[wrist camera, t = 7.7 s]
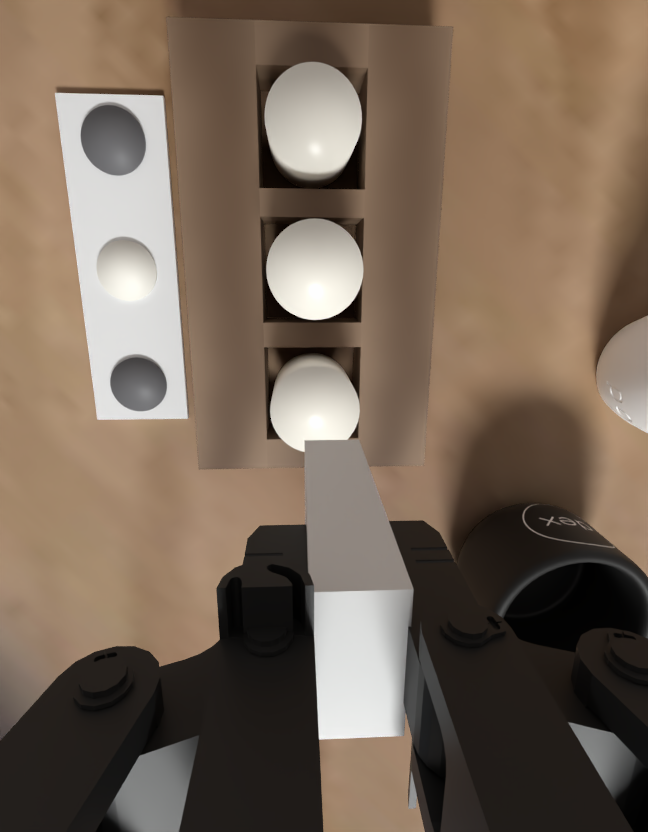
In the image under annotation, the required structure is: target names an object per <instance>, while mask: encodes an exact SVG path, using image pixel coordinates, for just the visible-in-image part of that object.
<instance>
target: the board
mask: <svg viewBox="0 0 648 832" xmlns="http://www.w3.org/2000/svg"><path fill="white" fill-rule="evenodd" d="M166 21H167V35H168V48H169V62H170V76H171V90H172V104H173V118H174V132H175V146H176V159H177V173H178V187H179V201H180V215H181V229H182V243H183V256H184V270H185V284H186V298H187V312H188V326H189V340H190V353H191V367H192V381H193V395H194V409H195V423H196V437H197V451H198V464H199V469H249V468H305V452H302V451H299V450H297V449H294V448H292V447H291V446H289V445H288V444H286V443H285V442H284V441H283V440H282V439H281V438H280V437H279V435H278V434H277V433H276V431H275V429H274V427H273V424H272V423H270V412H269V376H268V347H354V357H353V387H354V389H355V391H356V393H357V396H358V399H359V405H360V413H359V419H358V423H357V426H356V428H355V430H354V432H353V433H352V434H351V436H350V437H349V438H348V439H347V440H359V441H360V444H361V446H362V449H363V452H364V455H365V457H366V460H367V463H368V466H424V459H425V444H426V429H427V414H428V399H429V384H430V369H431V354H432V339H433V324H434V309H435V294H436V279H437V264H438V249H439V234H440V219H441V204H442V189H443V174H444V159H445V144H446V129H447V114H448V98H449V83H450V68H451V53H452V38H453V27H452V26H422V25H393V24H363V23H333V22H304V21H274V20H245V19H215V18H186V17H166ZM305 62H320V63H324V64H327V65H330V66H332V67H334V68H335V69H337V70H339V71H340V72H341V73H342V74H344V76H345V77H346V78H347V79H348V80H349V81H350V83H351V84H352V85H353V87H354V89H355V91H356V93H359V101H360V105H361V111H362V125H361V131H360V135H359V138H358V172H357V189H289V188H263V159H262V122H261V91H270V89H271V88H272V86H273V84H274V83H275V81H276V80H277V79H278V77H279V76H280V75H281V74H282V73H284V72H285V71H286V70H288V69H289V68H291V67H293V66H295V65H297V64H300V63H305ZM314 218H316V219H324V220H328V221H331V222H334V223H336V224H350V225H356V244H357V245H358V247H359V250H360V252H361V256H362V260H363V279H362V283H361V286H360V289H359V291H358V293H357V295H356V297H355V311H354V318H326V319H322V320H309V319H304V318H267V303H266V267H265V231H264V224H294V223H296V222H298V221H301V220H305V219H314Z"/></svg>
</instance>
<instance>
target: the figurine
mask: <svg viewBox="0 0 648 832" xmlns="http://www.w3.org/2000/svg"><path fill="white" fill-rule="evenodd" d="M596 382H597V388H598V391H599V393H600V396H601V398H602V399H603V401H604V402H605V403H606V404H607V405H608V406H609V407H610V408H611V409H612V410H613V411H614V412H615V413H616V414H617V415H618V416H620V417H621V418H622V419H624V420H625V421H627V422H628V423H630V424H632V425H633V426H635V427H637V428H639V429H640V430H642V431H644V432H646V433H648V315H647V316H645V317H643V318H641V319H639V320H637V321H634V322H632V323H630V324H628V325H627V326H625V327H623V328H622V329H621V330H619V331H618V332H617V333H616V334H615V335H614V336H613V337H612V338H611V339H610V341H609V342H608V343H607V345H606V346H605V348H604V349H603V351H602V353H601V356H600V358H599V361H598V365H597V371H596Z"/></svg>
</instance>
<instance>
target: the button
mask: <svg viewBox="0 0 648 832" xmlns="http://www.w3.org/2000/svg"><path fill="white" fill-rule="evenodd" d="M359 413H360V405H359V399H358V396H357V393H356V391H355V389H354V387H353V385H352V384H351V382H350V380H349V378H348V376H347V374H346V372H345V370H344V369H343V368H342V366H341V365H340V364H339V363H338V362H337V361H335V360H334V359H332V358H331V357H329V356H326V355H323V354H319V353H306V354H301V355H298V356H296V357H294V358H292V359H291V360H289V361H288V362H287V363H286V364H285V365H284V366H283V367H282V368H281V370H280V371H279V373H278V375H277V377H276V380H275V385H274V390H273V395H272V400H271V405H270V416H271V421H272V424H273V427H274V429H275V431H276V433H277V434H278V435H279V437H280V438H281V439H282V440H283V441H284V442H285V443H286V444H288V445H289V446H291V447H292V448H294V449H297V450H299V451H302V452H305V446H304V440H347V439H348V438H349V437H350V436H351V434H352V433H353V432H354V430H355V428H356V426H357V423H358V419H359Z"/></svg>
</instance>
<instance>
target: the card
mask: <svg viewBox="0 0 648 832" xmlns="http://www.w3.org/2000/svg"><path fill="white" fill-rule="evenodd" d="M55 98H56V105H57V113H58V121H59V128H60V136H61V144H62V151H63V159H64V167H65V174H66V182H67V190H68V197H69V205H70V213H71V220H72V228H73V235H74V243H75V251H76V258H77V266H78V274H79V281H80V289H81V297H82V304H83V312H84V320H85V327H86V335H87V343H88V350H89V358H90V366H91V373H92V381H93V389H94V396H95V404H96V412H97V419H98V420H108V419H188V418H189V411H188V398H187V385H186V371H185V358H184V345H183V332H182V319H181V305H180V292H179V279H178V266H177V253H176V239H175V226H174V213H173V200H172V187H171V173H170V160H169V147H168V134H167V121H166V107H165V97H164V96H158V95H118V94H78V93H55Z"/></svg>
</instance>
